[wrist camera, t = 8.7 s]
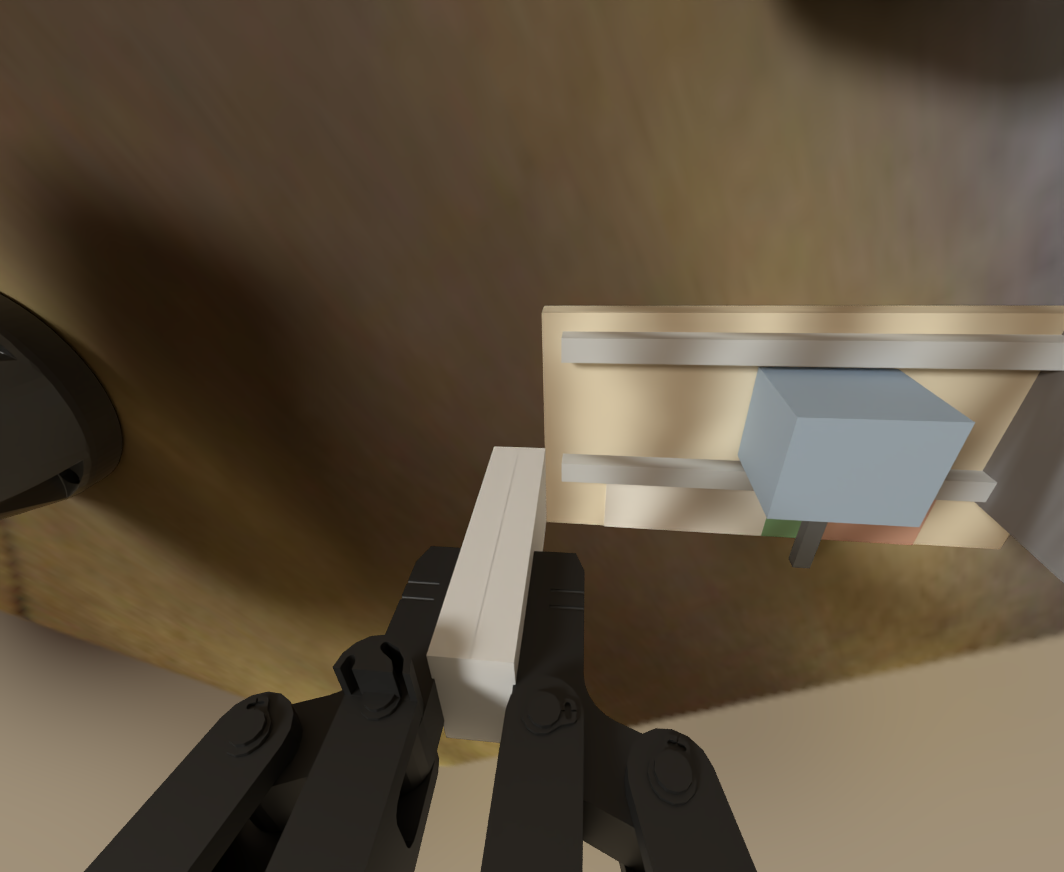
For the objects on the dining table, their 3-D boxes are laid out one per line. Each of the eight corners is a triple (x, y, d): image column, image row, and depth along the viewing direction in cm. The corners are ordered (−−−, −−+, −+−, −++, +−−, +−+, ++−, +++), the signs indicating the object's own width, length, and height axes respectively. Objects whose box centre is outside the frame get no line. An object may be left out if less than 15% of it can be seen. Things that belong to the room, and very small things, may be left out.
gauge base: (548, 509, 29) (534, 601, 23) (544, 305, 22) (523, 359, 16) (983, 534, 26) (1101, 648, 20) (1129, 305, 19) (1374, 372, 13)
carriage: (722, 517, 26) (746, 586, 22) (758, 366, 21) (797, 417, 17) (834, 524, 25) (882, 596, 21) (898, 368, 21) (975, 422, 16)
